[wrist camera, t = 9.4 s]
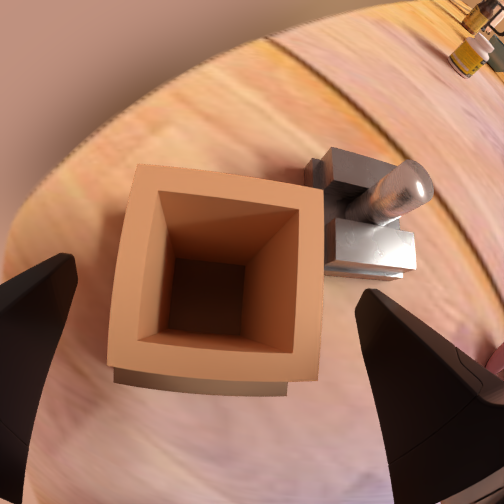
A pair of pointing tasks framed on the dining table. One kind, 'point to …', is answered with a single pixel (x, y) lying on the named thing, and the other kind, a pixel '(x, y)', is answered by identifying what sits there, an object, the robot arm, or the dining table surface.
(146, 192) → the sleeve
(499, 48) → the flower pot
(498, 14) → the coffee press
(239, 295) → the walnut block
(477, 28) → the sauce bottle
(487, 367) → the video game controller
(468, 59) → the supplement bottle
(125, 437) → the dining table surface
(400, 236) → the vise
